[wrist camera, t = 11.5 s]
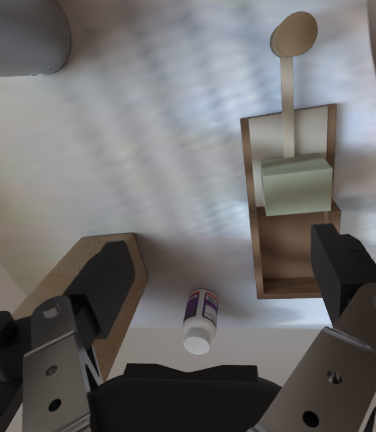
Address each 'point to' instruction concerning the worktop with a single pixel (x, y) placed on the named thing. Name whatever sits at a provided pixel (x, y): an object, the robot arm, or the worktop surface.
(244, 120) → the lane
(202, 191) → the worktop surface
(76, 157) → the worktop surface
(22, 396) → the robot arm
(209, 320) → the pill bottle
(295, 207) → the string block
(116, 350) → the wooden block
